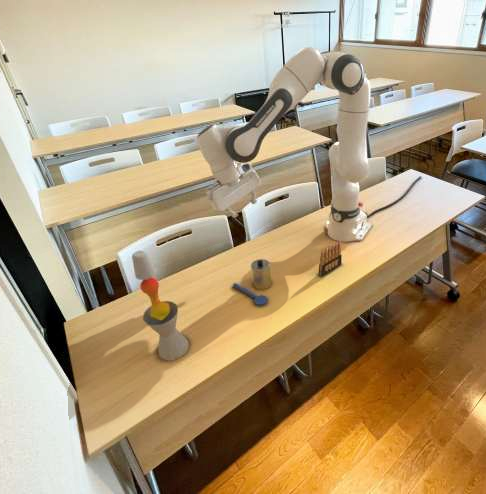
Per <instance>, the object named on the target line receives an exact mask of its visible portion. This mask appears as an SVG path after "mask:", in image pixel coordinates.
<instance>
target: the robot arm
mask: <svg viewBox="0 0 486 494" xmlns="http://www.w3.org/2000/svg"><path fill="white" fill-rule="evenodd" d="M318 84H319V85H322V86H324V87H326V88H328V89H330V90H335V91H337V92H338V95H339V96H338V97H339V99H338V100H339V101H338V108H337V109H338V111H337V120H336V135H337V141H336V142H334V143H333V144H331V146H330V147H329V149H328V160H329V167H330V175H331V176H330V177H331V185H332V198H331V199H332V200H331V201H332V202H331V205H330V212H329V213H328V221H326V225H325V229H326V230H327V235H328V237H329V238H331V240H334V241H337V242H338V241H339V239H340V241H341V243H342V242H343V243H345V242H347V243H348V242H352V241H353V242H354V241H362V240H363V239H364V238H365V236H366V235H367V233H368V232H369V230H370V229H371V227H372V222H371V221H369V220H368V218H371V217H372V216H374V215H375V214H376V213H377V212H380V211H383V210H385V209H388V208H389V207H391V206H393V205H395V204H397V203H398V202H399V201H401V200H402V199H403V198H404V197H406V196H407V194H408V193H409V192H410V191H411V189H412V188H414V186H415V184H416V183H417V182H418V181H419V180H420V179H422V176H421V175H420V176H419V177H418V178H417V179H415V181H414V182H412V184H411V185H410V186H409V188H408V189H407V190H406V191H405V192H404V193H403V194H402V195H401V196H400V197H399V198H398V199H396V200H395V201H393V202H390V203H389V204H387V205H385V206H383V207H380V208H377V209H375V210H374V211H372V212H371V213H370V214H369V215H368V212H365V211H363V210H361V208H363V206H364V202H361V201H359V200H360V185H359V183H361V182H363V181H364V180H366V179H367V177H368V176H369V174H370V168H371V167H370V164H369V160H368V147H367V146H368V145H367V144H368V143H367V129H368V121H369V114H370V108H371V107H370V106H371V83H370V80H369V79H368V78H367V77H366V76H365V74H364V67H363V64H362V62H361V61H360V59H359V58H357V56H355V55H353V54H350V53H346V52H343V51H331V50H327V51H322V52H320V51H319V50H318V49H316V48H315V47H313V46H305V47H303V48H302V49H300V50H299V51H298V52H296V53H295V54H294V55H292V57H291V58H290V59H288V61H287V62H286V63H285V64H284V65H282V67H281V68H280V69H279V71H278V72H277V73H276V75H275V76H274V78H273V79H272V81H271V83H270V85H269V90H268V94H267V98H266V99H265V102H264V103H263V105H262V106H261V107H260V108H259V110H258V111H256V113H255V114H254V115H253V116H252V117H251V119H250V120H249V121H248V122H247V123H246V124H245V125H232V126H231V125H230V126H229V125H227V126H226V125H218V124H215V123H212V124H209V125H207V126H206V127H205V128H203V129H202V130H201V131H200V132H199V133H198V134H197V137H196V142H197V145H198V148H199V150H200V153H201V155H202V156H203V159H204V160H205V162H206V163H207V164H208V165H209V167H210V172H211V174H212V176H213V178H214V179H215V182H213V183H212V184H209V185H208V186H207V188H206V190H205V195H206V197H207V198H208V199H209V202H210V204H211V207H212V209H213V210H214V212H217V213H223V212H224V211H225V212H227V213H229V214H230V215H231V217H232V218H237V217H238V216H239V213H238V212H237V211H236V210H232V209H233V208H232V206H234V204H236V203H238V202H239V201H241V199H243V198H245V197H247V195H250V199H249V201H250V203H251V204H252V205H255V204H256V203H257V202H258V200H257V198H256V197H257V191H256V190H257V189H258V188H259V187H261V185H262V180H261V179H260V177H259V175H258V173H257V171H256V170H255V169H254V168H253V164H252V163H251V162H252V161H253V160H255V158H257V156H258V154H259V152H260V150H261V146H262V143H263V141H264V139H265V138H266V136H267V135H268V134H269V133H270V132H271V130H272V129H273V128H274V127H275V126H276V124H277V123H278V122H279V121H280V120H281V118H283V117H284V115H286V114H287V113H288V112H289V111H290V110H291V109H293V108H294V107H296V105H299V103H300V102H301V101H303V99H304V98H305V97H306V96H307V95H308V94H309V93H310V92H311V91H312V89H313V88H314V87H315V86H316V85H318Z"/></svg>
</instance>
